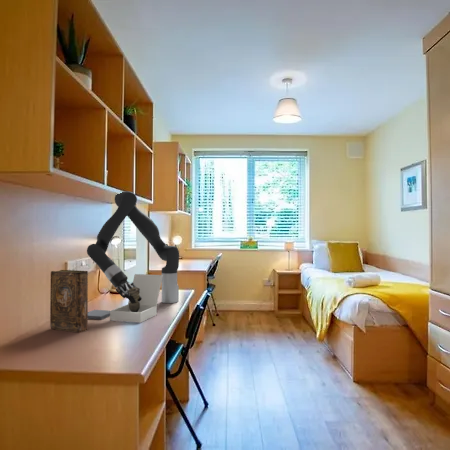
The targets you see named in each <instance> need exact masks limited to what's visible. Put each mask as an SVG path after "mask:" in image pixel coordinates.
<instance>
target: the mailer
mask: <svg viewBox="0 0 450 450" xmlns="http://www.w3.org/2000/svg"><path fill="white" fill-rule="evenodd" d="M162 276H163V275H162V274H142V273H134V276H133V280H132V282H133V283H134V284H135V286H136V287H137V288H139V289H140V293H139V295H140V297H141V298H142V299H141V301H138V302H140V309H139V310H138V312H131V310H130V309H129V303H130V301H129V300H128V302H127V304H124V305H122V306H120V307H117V308H114V309H112V310H109V311H110V316H109V321H114V322H126V323H127V322H128V323H138V324H139V323H140V324H141V323H144V321H146V320H149V319H152V318H153V317H155V316H157V306H158V302H159V296H160V293H161V292H160V291H161V288H162Z"/></svg>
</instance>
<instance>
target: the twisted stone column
mask: <svg viewBox="0 0 450 450" xmlns="http://www.w3.org/2000/svg"><path fill="white" fill-rule="evenodd" d="M129 293H130V294H131V295H132V297H133V298H134V299H135V300H136V302H135V303H134V304H132V303H131V302H130V303H129V309H130V310H131V312H138V310H139V309H140V302H138V299H139V296H140V295H139V293H140V289H139V288H137V287H132V289H129Z"/></svg>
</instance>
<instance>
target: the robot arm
mask: <svg viewBox="0 0 450 450" xmlns="http://www.w3.org/2000/svg"><path fill="white" fill-rule="evenodd" d="M121 192H122V193H120V194H117V193H116V194H117V195H116V194H115V196H114V202H115V205H116V206H117V208H116V209H115V212H114V213H113V214H112V215H111V216H110V217H109V218H108V219H107V221H105V222H104V224H103V225H102V227H101V229H100V230H99V231H98V233H97V235H96V239H97V241H96V242H95V243H90V245H88V246H87V248H86V253H87V256H88V257H89V258H90V259H91V260H92V261H93V262H94V263H95V264H96V265H97V267H98V268H99V270H101V272H102V273H103V274H104V276H105V277H106V278H107V280H109V282H110V283H111V284H112V286H113V287H114V288H115V291H116V292H117V294H119V295H120V297H122V298H123V299H128V302H129V301H130V302H131V303H132V304H134V303H135V302H136V300H135V299H134V298H133V297H132V295H131V294H130V293H129V289H132V287H136V286H135V284H134V283H133V281H132V282H131V283H130V282H129V281H128V276H127V275H126V274H125V272H123V270H122V269H121V267H119V266H118V265H117V263H115V262H114V261H113V259H111V257H110V256H109V255H107V250H108V248H109V246H110V245H109V244H110V242H111V241H112V240H113V237H114V235H115V234H116V233H117V230H118V229H119V227H120V225H121V224H122V223H123V222H124V220H125V219H126V218H127V217H128V218H129V220H130V221H131V222H132V223H133V225H134V226H135V227H136V229H137V230H138V231H139V232H140V233H141V235H142V236H143V237H144V238H145V239H146V241H147V242H148V243H149V245H151V246H152V247H153V249H154V251H155V252H156V254H157V255H158V257H159V259H160V260H162V261H165V262H166V264H165V266H163V267H162V268H161V275H163V276H162V281H161V303H163V304H174V303H177V302H179V300H180V299H179V298H180V297H179V296H180V295H179V293H180V292H179V290H180V288H179V284H178V270H179V267H180V263H179V262H180V251H179V250H180V249H179V248H178V247H177V246H175V245H167V244H166V243H165V241H163V239H162V238H161V236H160V235H161V234H160V230H159V227H158V226H157V224H155V222H154V221H153V220H152V219H151V218H150V217H149V216H148V215H147V214H146V213H144V212H143V211H141V210H140V209H139V208H138V206H136V205H137V202H138V197H137V195H136V194H135V193H134V192H132V191H128V190H126V191H121ZM141 299H142V298H141V297H140V296H139V299H138V301H141Z"/></svg>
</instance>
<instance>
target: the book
mask: <svg viewBox="0 0 450 450" xmlns="http://www.w3.org/2000/svg"><path fill="white" fill-rule="evenodd" d="M88 272H89V271H88V270H73V269H72V270H71V269H60V270H51V271H50V290H49V291H50V293H49V294H50V298H49V299H50V303H49V306H50V307H49V311H50V316H49V320H50V321H49V323H50V324H49V327H50V329H52V330H56V331H65V332H76V333H83V332H86V331H88V329H89V328H88V327H89V325H88V324H89V323H88V321H89V319H88V312H89V311H88V310H89V309H88V307H89V306H88V302H89V301H88V300H89V299H88V296H89V292H88V291H89V289H88V288H89V287H88V285H89V277H88V276H89V275H88V274H89V273H88Z"/></svg>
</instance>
